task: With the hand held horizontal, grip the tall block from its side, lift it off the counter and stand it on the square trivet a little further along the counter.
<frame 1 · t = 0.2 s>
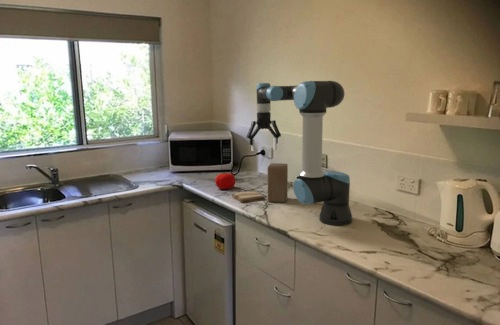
hand: (263, 150, 215), 27 cm above the countertop, tool pointing down, fingers open, 13 cm apart
block: (277, 200, 215), on the countertop
tomato: (225, 188, 240), on the countertop
trivet: (248, 198, 220), on the countertop
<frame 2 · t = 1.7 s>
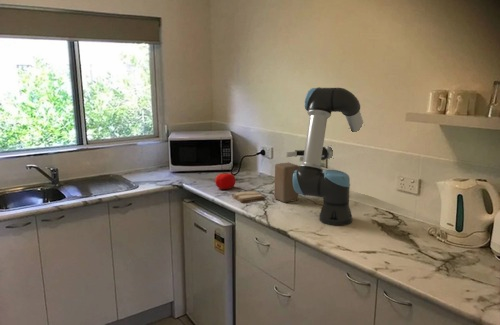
hand: (292, 156, 215), 24 cm above the countertop, tool horizontal, fingers open, 13 cm apart
block: (286, 199, 216), on the countertop
everything else where it was.
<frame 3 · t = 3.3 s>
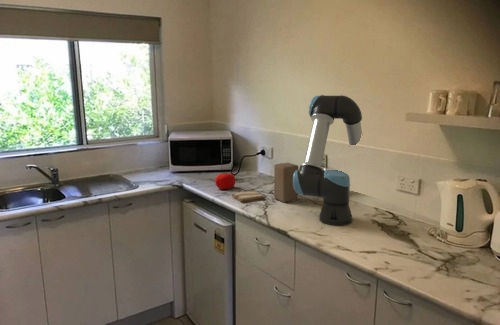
hand: (291, 178, 217), 11 cm above the countertop, tool horizontal, fingers open, 13 cm apart
block: (286, 199, 216), on the countertop, touching gripper
everything else where it was.
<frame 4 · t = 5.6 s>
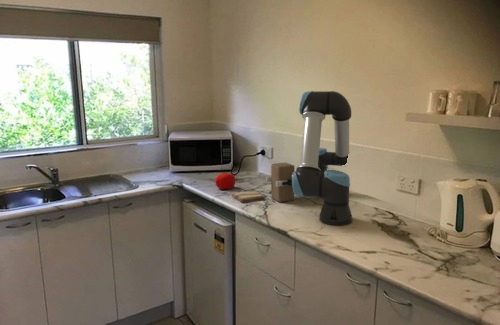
hand: (271, 181, 211), 11 cm above the countertop, tool horizontal, fingers open, 11 cm apart
block: (282, 199, 216), on the countertop, touching gripper
everything else where it was.
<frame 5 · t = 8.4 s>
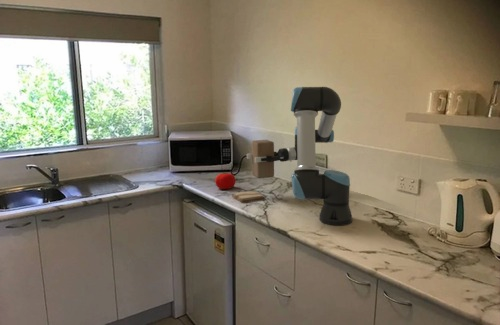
hand: (250, 158, 214), 23 cm above the countertop, tool horizontal, fingers closed on block, 10 cm apart
block: (263, 176, 219), point 12 cm above the countertop, touching gripper
everything else where it was.
when the fingers open (14 cm above the countertop, at t = 10.9 s): block drops 1 cm, resting on trivet.
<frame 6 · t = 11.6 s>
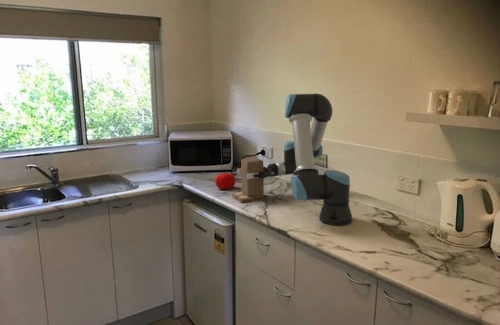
hand: (242, 173, 215), 14 cm above the countertop, tool horizontal, fingers open, 13 cm apart
block: (252, 194, 221), point 2 cm above the countertop, touching trivet
everything else where it was.
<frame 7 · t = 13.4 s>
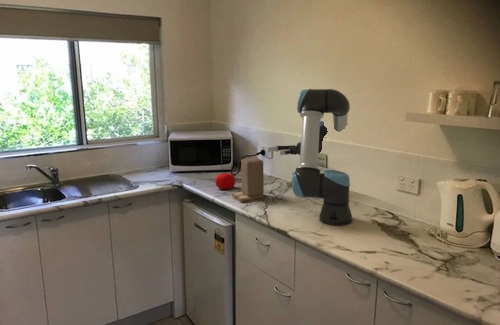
hand: (273, 151, 218), 26 cm above the countertop, tool horizontal, fingers open, 13 cm apart
nothing on the countertop moved.
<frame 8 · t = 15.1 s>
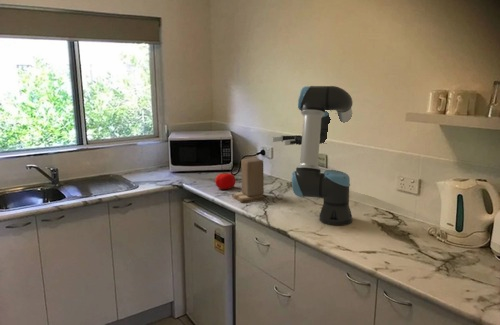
hand: (278, 141, 216), 32 cm above the countertop, tool horizontal, fingers open, 13 cm apart
nothing on the countertop moved.
at the end: block inside the target area on the trivet (2.8 cm from its centre), point 1.8 cm above the trivet's base; block tilted 0°; the gripper is holding nothing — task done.
